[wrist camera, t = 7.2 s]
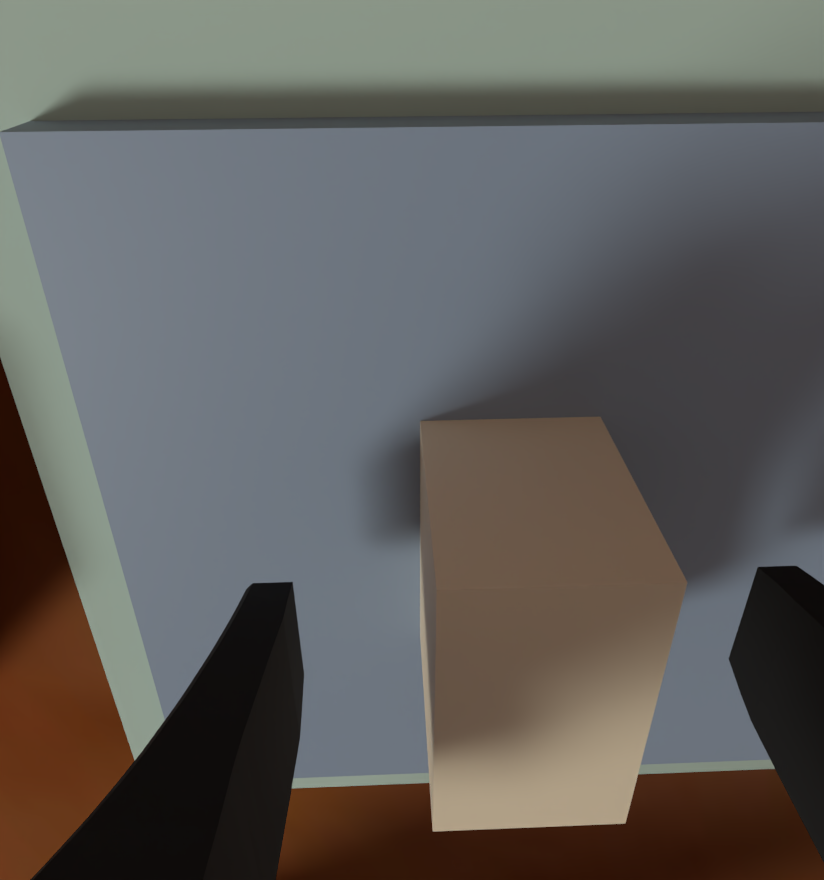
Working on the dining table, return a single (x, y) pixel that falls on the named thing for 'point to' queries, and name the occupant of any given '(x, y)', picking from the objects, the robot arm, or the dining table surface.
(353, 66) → the mat
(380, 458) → the lid
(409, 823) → the dining table surface
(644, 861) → the dining table surface
